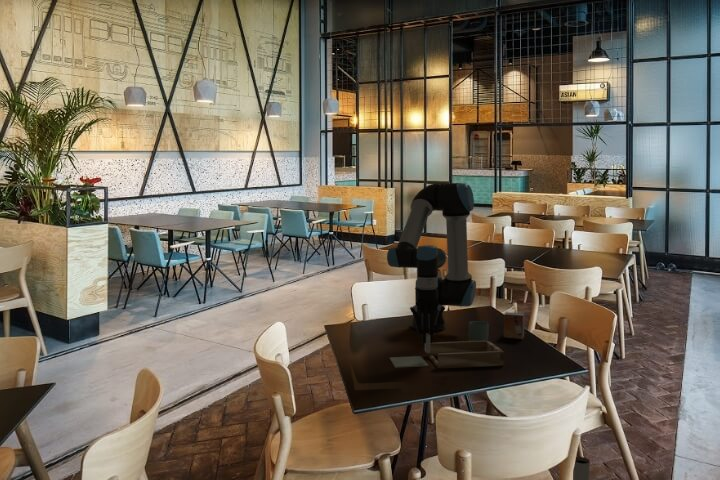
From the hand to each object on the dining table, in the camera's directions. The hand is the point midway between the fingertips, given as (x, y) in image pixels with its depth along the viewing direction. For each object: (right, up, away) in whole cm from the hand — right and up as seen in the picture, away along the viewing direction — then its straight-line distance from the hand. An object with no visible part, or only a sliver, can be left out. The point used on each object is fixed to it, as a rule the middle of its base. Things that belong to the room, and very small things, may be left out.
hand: (427, 351), depth 217 cm
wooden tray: (+14, -4, +2) cm, 15 cm away
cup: (+23, -2, +20) cm, 31 cm away
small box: (+41, -1, +35) cm, 54 cm away
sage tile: (-7, -4, 0) cm, 8 cm away
